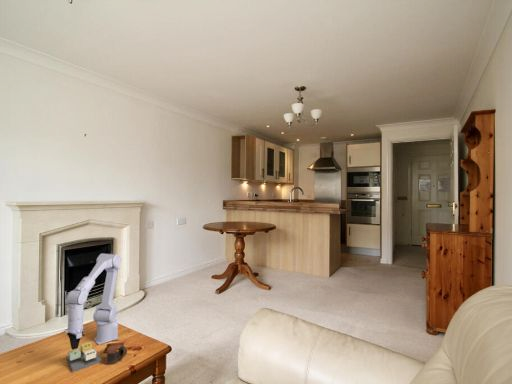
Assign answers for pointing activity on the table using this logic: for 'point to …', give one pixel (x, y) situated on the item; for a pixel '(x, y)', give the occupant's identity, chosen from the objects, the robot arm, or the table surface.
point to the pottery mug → (114, 352)
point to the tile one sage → (74, 354)
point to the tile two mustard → (86, 346)
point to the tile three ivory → (89, 354)
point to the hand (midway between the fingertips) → (74, 348)
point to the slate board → (82, 362)
